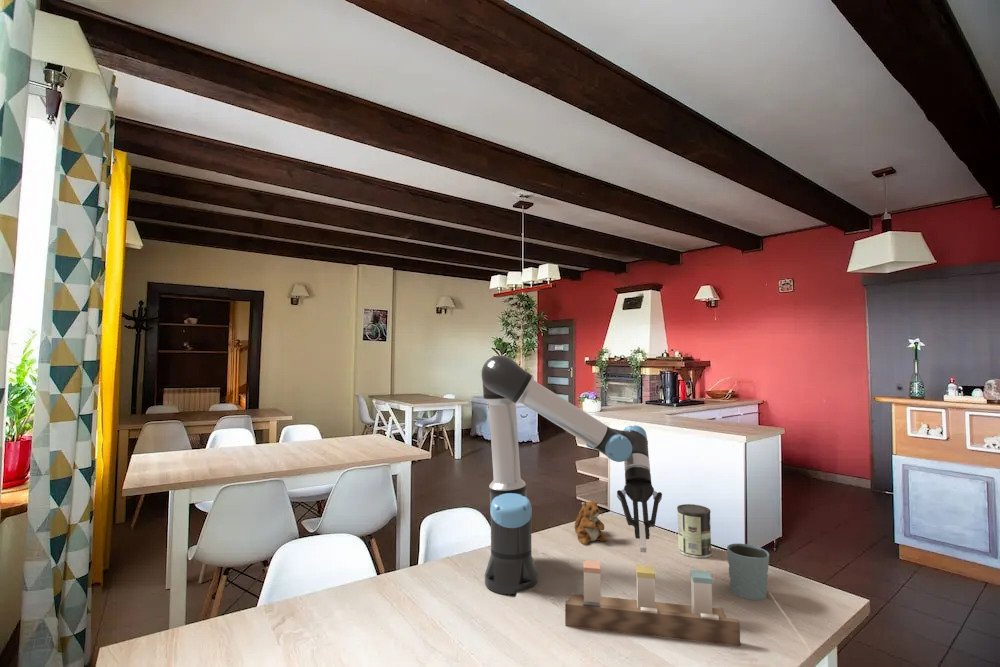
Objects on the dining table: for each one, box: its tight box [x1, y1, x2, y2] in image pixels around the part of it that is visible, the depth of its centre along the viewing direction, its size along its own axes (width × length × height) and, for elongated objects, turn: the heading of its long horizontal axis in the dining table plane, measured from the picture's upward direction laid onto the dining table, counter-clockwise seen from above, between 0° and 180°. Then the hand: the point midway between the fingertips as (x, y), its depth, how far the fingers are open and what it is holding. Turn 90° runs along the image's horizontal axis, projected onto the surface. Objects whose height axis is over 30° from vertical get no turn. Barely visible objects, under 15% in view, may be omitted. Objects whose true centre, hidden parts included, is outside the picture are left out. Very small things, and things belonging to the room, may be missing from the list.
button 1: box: [582, 560, 601, 604], centre depth 122 cm, size 4×4×10 cm
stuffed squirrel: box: [573, 500, 608, 546], centre depth 172 cm, size 10×14×13 cm
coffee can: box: [676, 503, 712, 559], centre depth 159 cm, size 10×10×14 cm
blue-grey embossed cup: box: [726, 543, 770, 601], centre depth 130 cm, size 10×10×12 cm
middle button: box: [635, 564, 656, 609], centre depth 120 cm, size 4×4×10 cm
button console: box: [564, 592, 741, 647], centre depth 117 cm, size 38×16×6 cm, turn 78°
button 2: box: [689, 569, 713, 615], centre depth 117 cm, size 4×4×10 cm
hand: (643, 549), depth 129 cm, fingers closed
